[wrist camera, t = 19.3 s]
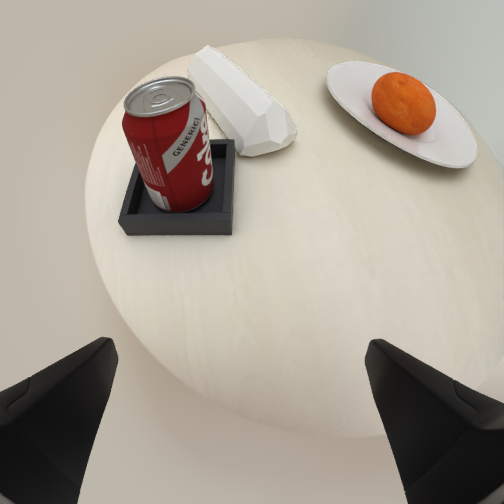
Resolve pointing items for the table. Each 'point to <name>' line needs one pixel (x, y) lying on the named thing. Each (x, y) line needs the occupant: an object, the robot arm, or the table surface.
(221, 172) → the dark grey square tray
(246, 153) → the crystal
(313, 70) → the table surface
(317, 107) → the table surface
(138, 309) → the table surface
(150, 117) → the soda can
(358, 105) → the plate
